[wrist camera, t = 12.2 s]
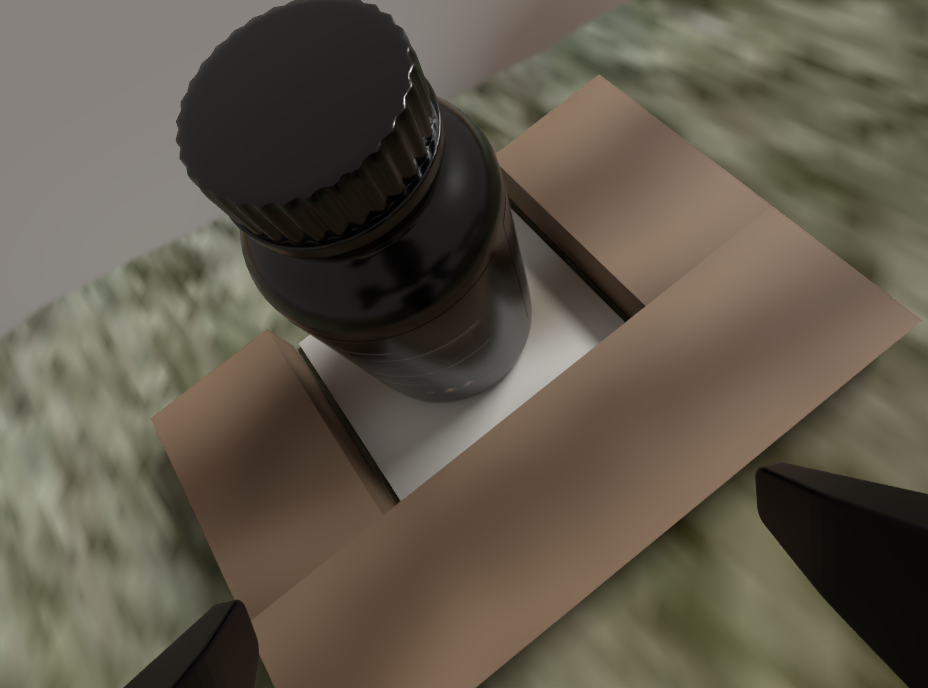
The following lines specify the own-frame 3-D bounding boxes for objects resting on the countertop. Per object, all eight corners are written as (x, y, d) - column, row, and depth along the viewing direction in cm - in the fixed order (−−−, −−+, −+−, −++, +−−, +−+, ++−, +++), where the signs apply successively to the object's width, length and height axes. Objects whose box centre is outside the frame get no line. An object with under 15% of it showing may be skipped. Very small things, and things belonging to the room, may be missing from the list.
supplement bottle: (354, 273, 22) (128, 19, 11) (509, 226, 21) (434, -99, 10) (378, 429, 20) (117, 304, 9) (555, 382, 19) (521, 177, 8)
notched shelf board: (885, 342, 17) (921, 320, 15) (358, 775, 16) (329, 807, 14) (597, 111, 23) (598, 74, 21) (187, 427, 22) (150, 418, 20)
